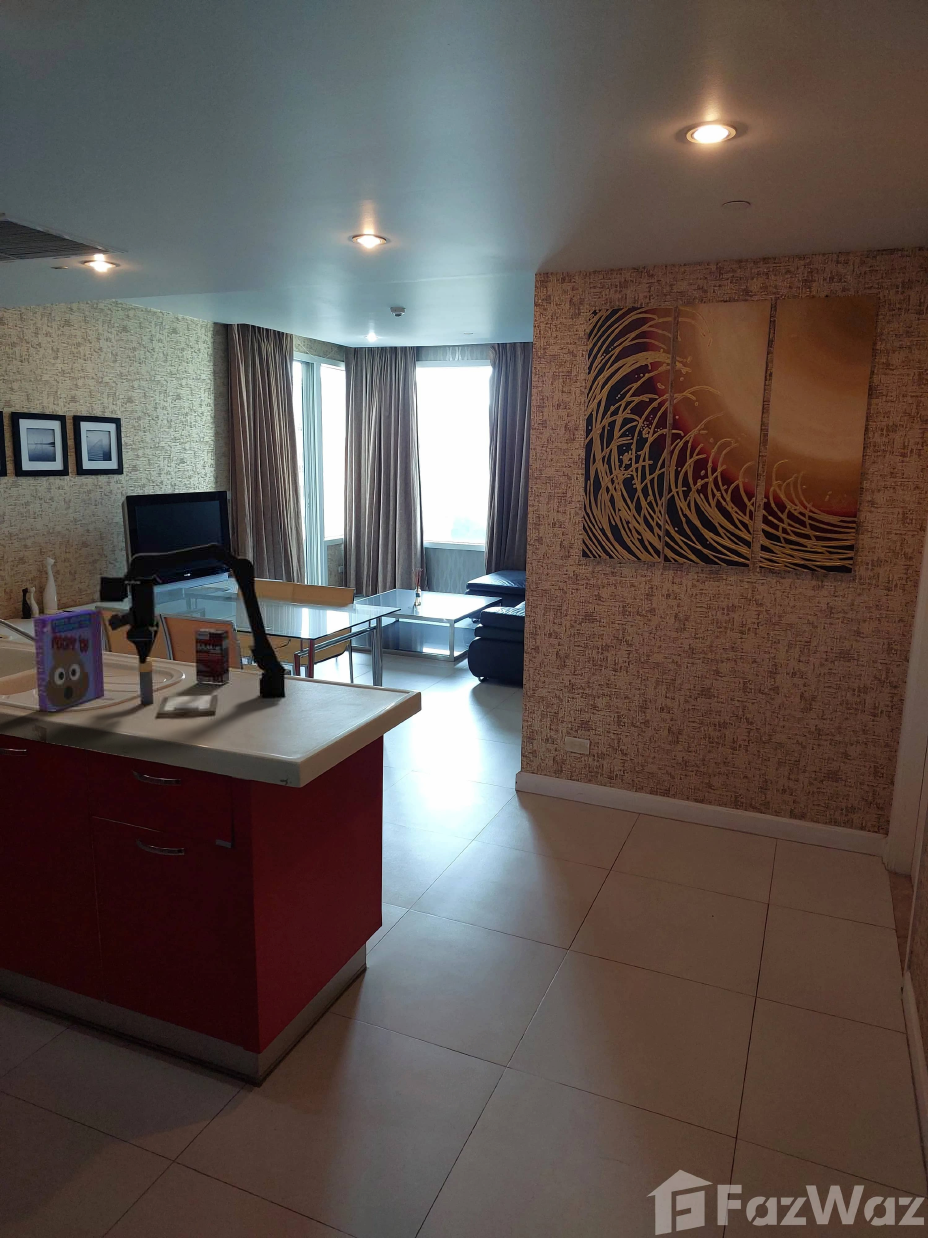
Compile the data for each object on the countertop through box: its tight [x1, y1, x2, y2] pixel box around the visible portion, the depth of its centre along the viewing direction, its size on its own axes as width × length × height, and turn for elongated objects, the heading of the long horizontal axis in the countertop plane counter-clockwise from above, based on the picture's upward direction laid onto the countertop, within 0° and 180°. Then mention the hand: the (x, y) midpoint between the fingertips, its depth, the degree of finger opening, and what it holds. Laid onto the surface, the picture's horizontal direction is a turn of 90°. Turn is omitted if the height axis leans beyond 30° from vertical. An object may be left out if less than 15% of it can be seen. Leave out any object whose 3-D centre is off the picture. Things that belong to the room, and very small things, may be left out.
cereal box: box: [33, 608, 105, 711], centre depth 212 cm, size 17×5×24 cm, turn 162°
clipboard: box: [156, 694, 218, 718], centre depth 212 cm, size 14×16×2 cm
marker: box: [138, 657, 154, 706], centre depth 214 cm, size 3×3×12 cm
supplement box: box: [194, 628, 230, 684], centre depth 238 cm, size 9×5×16 cm, turn 80°
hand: (144, 660), depth 213 cm, fingers open, 8 cm apart
